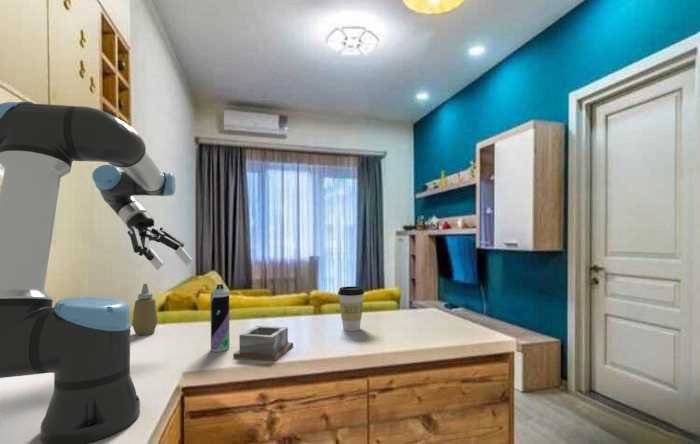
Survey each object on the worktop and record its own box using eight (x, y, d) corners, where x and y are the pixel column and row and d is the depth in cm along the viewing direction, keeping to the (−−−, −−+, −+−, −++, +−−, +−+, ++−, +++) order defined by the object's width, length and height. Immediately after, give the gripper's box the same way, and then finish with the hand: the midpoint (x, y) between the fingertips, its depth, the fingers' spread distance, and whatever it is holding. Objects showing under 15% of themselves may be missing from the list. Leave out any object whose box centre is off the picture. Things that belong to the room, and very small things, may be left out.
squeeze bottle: (146, 337, 125) (146, 285, 126) (126, 336, 127) (126, 285, 127) (162, 330, 133) (162, 282, 133) (144, 329, 134) (144, 282, 135)
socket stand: (275, 360, 99) (275, 338, 99) (233, 357, 102) (233, 336, 102) (293, 346, 112) (292, 326, 112) (255, 344, 115) (255, 324, 115)
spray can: (216, 353, 106) (215, 286, 107) (207, 349, 110) (207, 284, 111) (232, 348, 111) (232, 284, 111) (224, 345, 114) (223, 282, 115)
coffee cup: (355, 333, 125) (355, 290, 125) (333, 330, 130) (332, 288, 131) (369, 327, 133) (369, 287, 134) (347, 324, 138) (347, 285, 139)
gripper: (158, 227, 132) (193, 268, 128) (96, 226, 108) (138, 277, 104) (170, 212, 131) (206, 253, 127) (111, 208, 107) (153, 259, 103)
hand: (176, 264), depth 115 cm, fingers open, 13 cm apart
